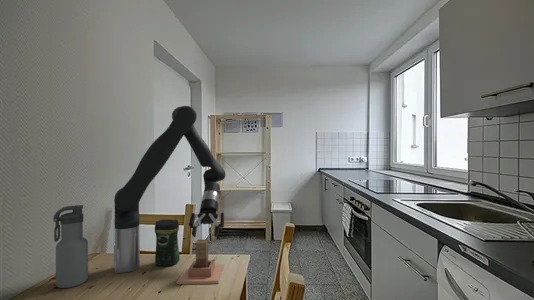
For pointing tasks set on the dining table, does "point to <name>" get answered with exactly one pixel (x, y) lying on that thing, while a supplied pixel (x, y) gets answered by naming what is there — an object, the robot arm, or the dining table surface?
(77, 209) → the water bottle
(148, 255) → the dining table surface
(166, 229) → the coffee jar
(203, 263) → the walnut post
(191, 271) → the terracotta holder
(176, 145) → the robot arm
